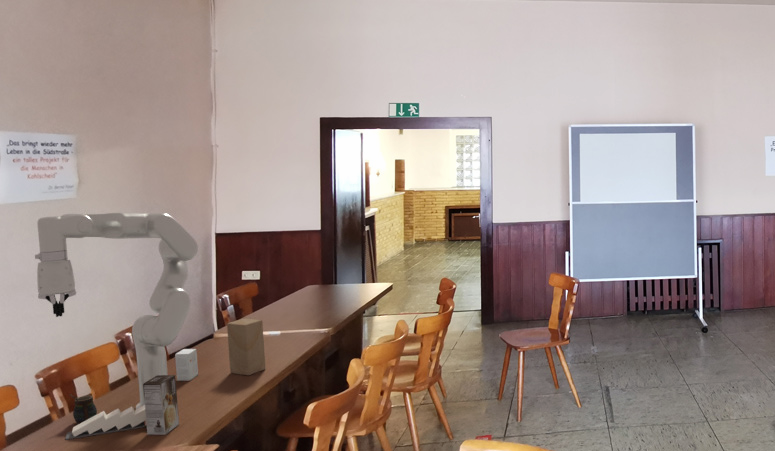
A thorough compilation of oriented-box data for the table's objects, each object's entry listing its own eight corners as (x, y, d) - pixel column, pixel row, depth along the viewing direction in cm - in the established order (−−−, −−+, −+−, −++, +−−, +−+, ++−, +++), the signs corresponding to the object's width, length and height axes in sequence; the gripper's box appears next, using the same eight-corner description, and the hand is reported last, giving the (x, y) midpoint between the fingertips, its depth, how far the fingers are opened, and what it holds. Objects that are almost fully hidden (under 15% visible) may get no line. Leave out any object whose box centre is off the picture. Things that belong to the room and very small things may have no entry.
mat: (67, 433, 225) (67, 432, 225) (144, 421, 232) (144, 420, 232) (65, 439, 219) (65, 438, 219) (145, 427, 227) (145, 426, 227)
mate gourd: (100, 422, 234) (97, 392, 233) (75, 428, 230) (71, 397, 229) (95, 416, 240) (92, 387, 239) (71, 421, 236) (68, 392, 235)
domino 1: (73, 427, 225) (103, 410, 227) (75, 431, 225) (106, 414, 228) (71, 432, 220) (103, 415, 223) (74, 436, 220) (105, 419, 223)
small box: (185, 374, 285) (183, 348, 285) (198, 374, 285) (196, 348, 284) (176, 380, 278) (174, 354, 277) (190, 380, 277) (188, 353, 276)
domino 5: (129, 418, 230) (159, 402, 233) (132, 422, 231) (161, 406, 233) (129, 423, 226) (159, 406, 228) (132, 427, 226) (162, 410, 229)
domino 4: (116, 420, 229) (145, 404, 232) (118, 424, 229) (147, 408, 232) (115, 425, 224) (145, 408, 227) (118, 429, 224) (148, 413, 227)
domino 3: (102, 422, 228) (131, 406, 230) (104, 427, 228) (134, 410, 231) (101, 427, 223) (131, 410, 226) (104, 432, 223) (134, 415, 226)
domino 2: (88, 424, 226) (118, 408, 229) (90, 429, 226) (120, 412, 229) (87, 430, 221) (118, 413, 224) (89, 434, 222) (120, 417, 224)
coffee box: (161, 424, 229) (157, 374, 227) (179, 424, 228) (176, 374, 226) (146, 434, 220) (142, 383, 218) (166, 435, 219) (161, 383, 217)
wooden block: (248, 375, 279) (244, 325, 278) (229, 373, 284) (226, 323, 283) (266, 369, 287) (262, 319, 286) (247, 366, 293) (244, 318, 291)
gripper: (25, 260, 215) (30, 321, 216) (79, 255, 220) (84, 315, 221) (28, 257, 222) (34, 316, 223) (81, 253, 227) (86, 311, 228)
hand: (59, 315), depth 222 cm, fingers closed
